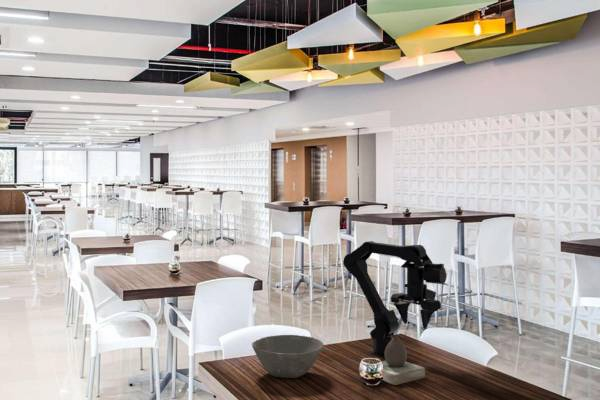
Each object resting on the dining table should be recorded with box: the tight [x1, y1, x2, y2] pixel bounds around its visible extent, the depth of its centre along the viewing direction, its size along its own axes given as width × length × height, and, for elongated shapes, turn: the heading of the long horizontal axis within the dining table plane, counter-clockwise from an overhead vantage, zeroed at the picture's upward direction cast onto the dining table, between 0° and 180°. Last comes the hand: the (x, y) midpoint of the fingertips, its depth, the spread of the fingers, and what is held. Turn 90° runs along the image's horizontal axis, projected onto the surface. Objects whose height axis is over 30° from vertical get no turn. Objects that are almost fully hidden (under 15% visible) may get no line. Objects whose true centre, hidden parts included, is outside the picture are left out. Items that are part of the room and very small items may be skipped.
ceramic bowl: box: [251, 334, 324, 379], centre depth 179 cm, size 22×23×10 cm
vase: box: [384, 336, 408, 367], centre depth 178 cm, size 7×7×9 cm
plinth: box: [380, 359, 426, 386], centre depth 178 cm, size 13×13×3 cm
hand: (415, 326), depth 194 cm, fingers open, 9 cm apart
